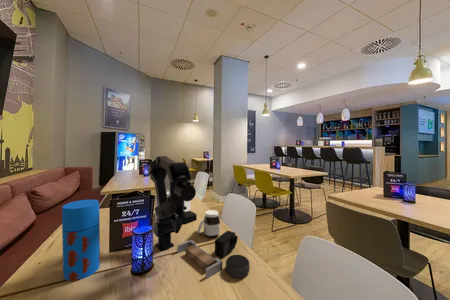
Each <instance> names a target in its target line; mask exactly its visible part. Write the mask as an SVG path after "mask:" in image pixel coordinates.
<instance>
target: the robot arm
mask: <svg viewBox="0 0 450 300" xmlns="http://www.w3.org/2000/svg"><path fill="white" fill-rule="evenodd" d="M147 173H148V175H149V179H150V180H151V181H152V182H153V184H154V189H155V190H154V191H155V196H156V197H157V204H158V206H157V207H156V208H154V214H155V213H156V215H157V219H156V222H155V224H154V227H153V234H154V235H155V237H156V238H157V243H155V244H154V246H155V247H156V248H157V249H158V251H160V252H161V251H165V250H167V249H168V250H169V249H170V248H173V247H174V246H175V244H174V243H173V242H172V233H174V234H179V233H180V230H181V228H182V226H183V225H184V226H185V225H188V224H190V223H193V222H195V221H197V217H198V215H197V213H196V212H194V211H193V210H192V211H187V212H186V211H184V210H186V209H187V207H185V206H184V201H192V200H193V199H194V198H195V196H196V193H197V190H196V188H195V186H193V185H192V183H191V181H192V174H191V171H190V169H189V166H188V165H187V163H186V162H185V161H175V160H172V159H171V158H169V157H168V156H166V155H164V156H160V155H159V156H156V157H155V159H154V160H153V161H151V162H150V163H149V165H148V169H147ZM166 175H168V178H169V181H170V196H169V197H167V194H166V188H165V181H164V179H165V177H166ZM185 176H186V177H185Z"/></svg>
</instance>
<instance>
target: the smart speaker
mask: <svg viewBox="0 0 450 300" xmlns="http://www.w3.org/2000/svg"><path fill="white" fill-rule="evenodd" d="M250 266H251V265H250V260H249V259H248V258H247V257H246V256H244V255H243V254H232V255H229V256H228V257H227V258H226V261H225V271H226V273H227V274H228V275H229V276H230V277H232V278H233V277H234V278H237V279H238V278H239V279H241V278H244V277H246V276H247V275H248V274H249V273H250Z"/></svg>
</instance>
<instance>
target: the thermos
mask: <svg viewBox="0 0 450 300" xmlns="http://www.w3.org/2000/svg"><path fill="white" fill-rule="evenodd" d="M61 224H62V225H61V231H62V232H61V233H62V236H61V237H62V269H63V279H64V280H65V281H69V282H77V281H80V280H83V279H86V278H89V277H91V276H92V275H93V274H95V273H96V272H97V271H98V270H99V267H100V262H101V258H100V257H101V242H100V240H101V237H100V236H101V235H100V234H101V233H100V229H101V228H100V202H99V200H97V199H82V200H75V201H72V202H68V203H66V204H64V205H62V210H61Z"/></svg>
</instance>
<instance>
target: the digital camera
mask: <svg viewBox="0 0 450 300" xmlns="http://www.w3.org/2000/svg"><path fill="white" fill-rule="evenodd" d="M237 243H238V236H237V234H236V232H234V231H231V230H226V231H225V232H223V233H222V234H221V235H218V236H217V237H216V238H215V239H214V256H215V257H217V258H219V259H225V258H226V256H228V255H229V254H230V253H231V252H232V251H233V250H234V249H235V248H236V245H237Z"/></svg>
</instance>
